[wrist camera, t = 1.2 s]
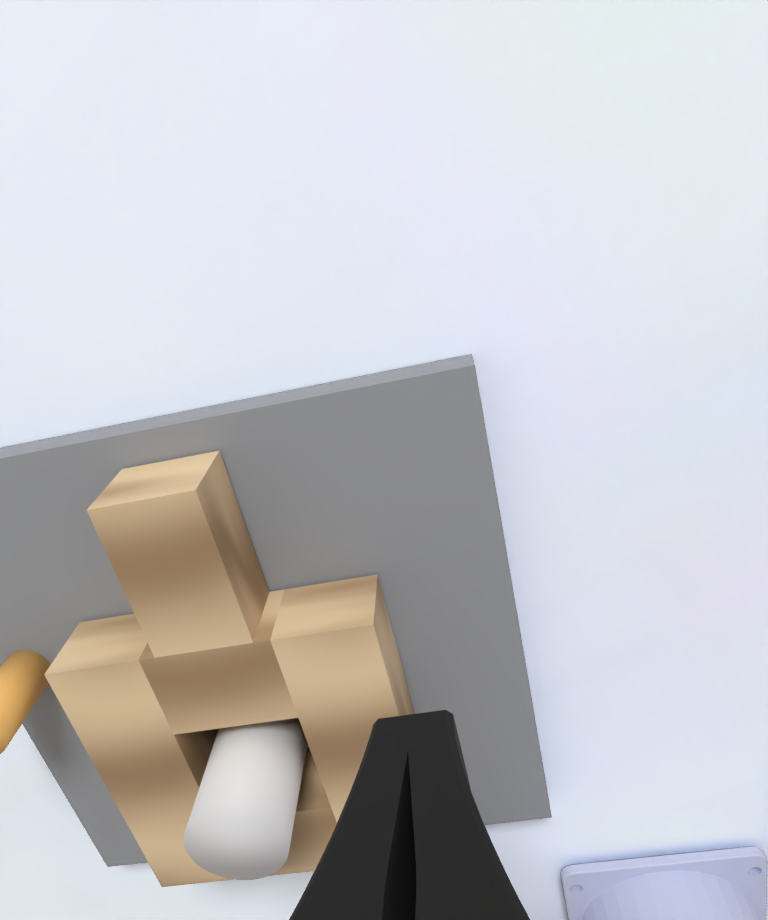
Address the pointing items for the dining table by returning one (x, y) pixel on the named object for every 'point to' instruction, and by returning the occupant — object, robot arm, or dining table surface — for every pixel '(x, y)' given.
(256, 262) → the dining table surface
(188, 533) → the wooden beam assembly
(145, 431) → the base plate
